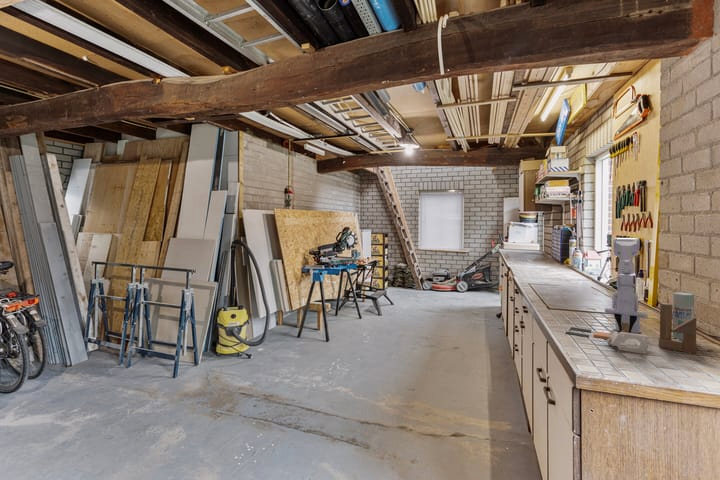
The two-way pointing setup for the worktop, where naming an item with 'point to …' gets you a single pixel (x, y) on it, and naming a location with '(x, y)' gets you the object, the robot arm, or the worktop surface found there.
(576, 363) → the worktop surface
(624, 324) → the two-tone stacked blocks
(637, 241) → the robot arm
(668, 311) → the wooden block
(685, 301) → the spray paint can
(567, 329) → the frame
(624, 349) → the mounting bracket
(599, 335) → the tile
